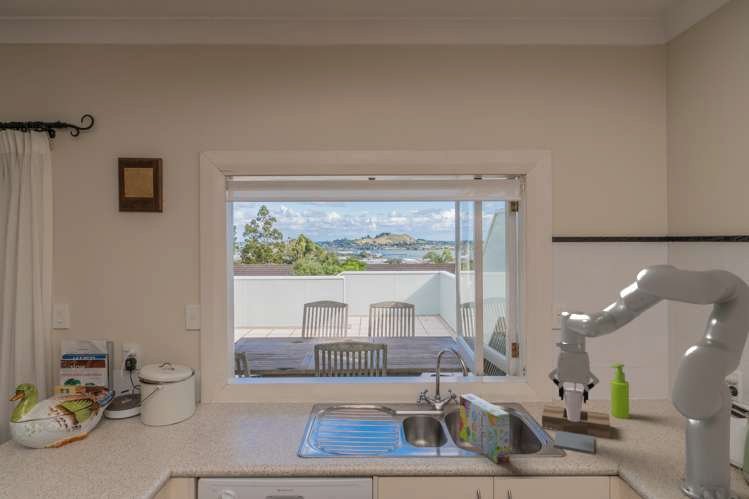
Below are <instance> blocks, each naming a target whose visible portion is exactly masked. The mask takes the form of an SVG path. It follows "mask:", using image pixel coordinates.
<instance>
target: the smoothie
mask: <svg viewBox="0 0 749 499" xmlns="http://www.w3.org/2000/svg"><path fill="white" fill-rule="evenodd" d="M573 384H574V385H573V387H567V388H564V390H563V393H564V401H565V408H566V410H567V417H568V420H570V421H573V422H578V421H580V414H581V410H582V405H583V400H584V390H581V389H579V388H577V383H573Z"/></svg>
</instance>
